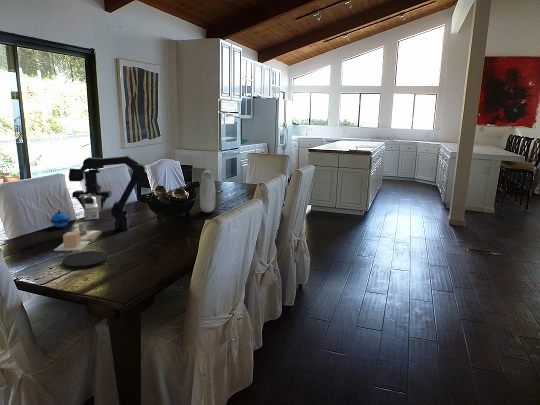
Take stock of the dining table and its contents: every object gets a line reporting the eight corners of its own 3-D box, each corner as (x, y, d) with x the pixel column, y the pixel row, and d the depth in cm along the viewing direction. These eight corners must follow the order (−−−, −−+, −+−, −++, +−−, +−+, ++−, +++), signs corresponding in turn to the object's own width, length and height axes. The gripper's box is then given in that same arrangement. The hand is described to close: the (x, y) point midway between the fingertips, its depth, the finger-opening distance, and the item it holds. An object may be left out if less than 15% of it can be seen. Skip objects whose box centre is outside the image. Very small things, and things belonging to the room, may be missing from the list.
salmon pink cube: (76, 247, 184) (75, 235, 183) (64, 247, 184) (62, 235, 182) (80, 243, 190) (79, 231, 188) (68, 243, 189) (67, 231, 188)
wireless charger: (60, 272, 157) (60, 268, 157) (64, 257, 173) (63, 253, 173) (107, 267, 164) (107, 262, 164) (107, 253, 180) (106, 249, 180)
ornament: (52, 225, 219) (51, 208, 217) (69, 224, 222) (68, 207, 220) (51, 229, 211) (49, 212, 209) (68, 228, 215) (67, 211, 213)
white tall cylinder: (214, 214, 253) (213, 171, 247) (198, 213, 253) (198, 171, 247) (216, 210, 263) (216, 169, 256) (201, 210, 263) (201, 169, 257)
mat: (89, 242, 193) (89, 241, 193) (80, 250, 182) (80, 249, 182) (64, 242, 192) (64, 241, 192) (54, 250, 180) (53, 249, 180)
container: (85, 219, 232) (83, 198, 229) (84, 216, 239) (82, 196, 236) (99, 218, 236) (97, 197, 233) (98, 215, 242) (96, 195, 240)
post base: (101, 233, 208) (100, 220, 206) (92, 241, 194) (91, 228, 193) (74, 233, 207) (73, 220, 205) (63, 241, 193) (62, 228, 191)
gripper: (113, 178, 215) (115, 206, 218) (78, 178, 213) (81, 205, 216) (107, 182, 204) (109, 210, 207) (70, 182, 202) (73, 210, 206)
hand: (93, 209), depth 210 cm, fingers open, 9 cm apart
